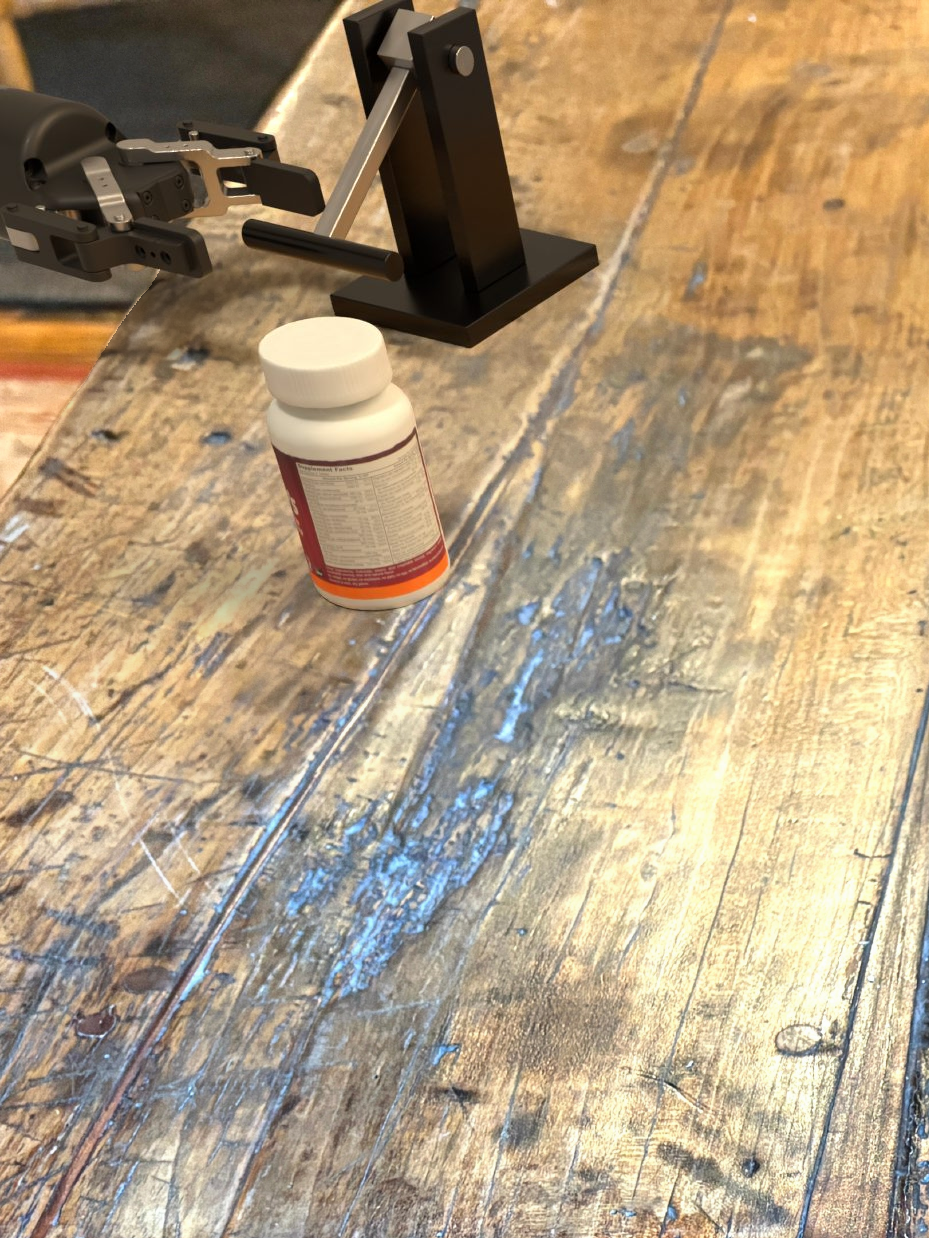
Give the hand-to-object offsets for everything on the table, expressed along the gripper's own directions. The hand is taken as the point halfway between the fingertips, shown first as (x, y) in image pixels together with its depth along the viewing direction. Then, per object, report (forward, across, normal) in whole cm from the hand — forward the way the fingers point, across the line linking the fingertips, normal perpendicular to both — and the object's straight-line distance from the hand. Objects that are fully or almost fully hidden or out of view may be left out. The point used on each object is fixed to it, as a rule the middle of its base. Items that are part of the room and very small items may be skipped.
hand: (262, 224), depth 112 cm
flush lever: (+3, +6, -1) cm, 7 cm away
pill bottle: (+18, -16, +7) cm, 26 cm away
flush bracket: (+3, +10, +7) cm, 13 cm away
